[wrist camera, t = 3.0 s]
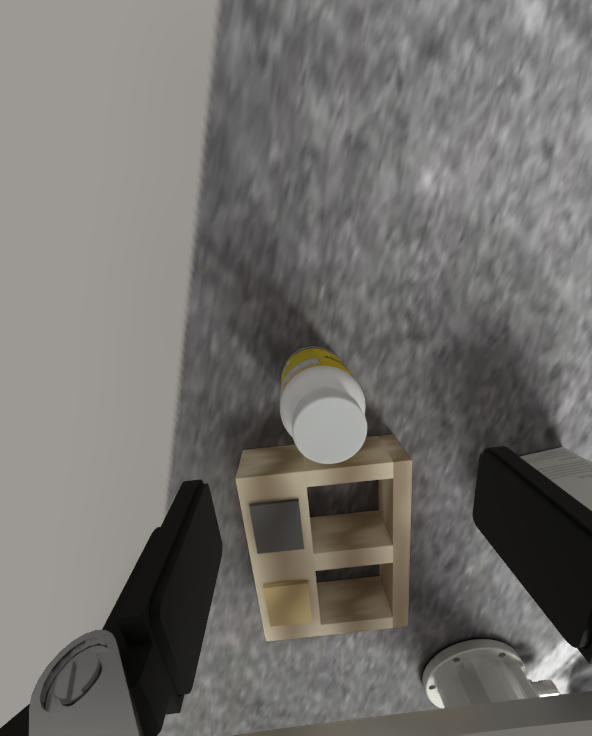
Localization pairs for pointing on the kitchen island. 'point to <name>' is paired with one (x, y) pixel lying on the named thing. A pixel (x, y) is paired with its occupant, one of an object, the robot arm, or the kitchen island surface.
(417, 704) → the kitchen island surface
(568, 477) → the skincare box
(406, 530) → the socket block
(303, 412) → the supplement bottle
